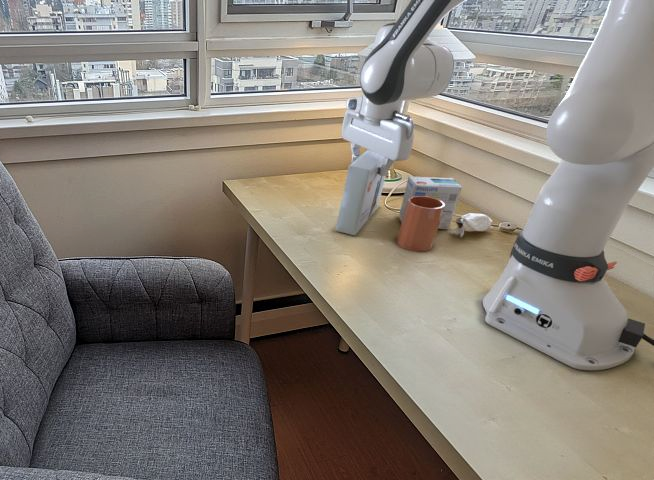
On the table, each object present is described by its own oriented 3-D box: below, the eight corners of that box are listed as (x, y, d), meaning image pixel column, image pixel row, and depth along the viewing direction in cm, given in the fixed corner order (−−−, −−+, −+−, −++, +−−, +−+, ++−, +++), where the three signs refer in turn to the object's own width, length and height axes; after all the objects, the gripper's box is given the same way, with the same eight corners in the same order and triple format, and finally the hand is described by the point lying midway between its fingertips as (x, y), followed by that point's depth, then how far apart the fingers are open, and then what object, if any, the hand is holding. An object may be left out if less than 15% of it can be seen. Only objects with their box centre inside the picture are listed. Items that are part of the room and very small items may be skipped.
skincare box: (357, 237, 110) (370, 169, 102) (334, 231, 113) (345, 165, 104) (380, 207, 125) (393, 146, 117) (359, 203, 128) (371, 142, 119)
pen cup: (439, 248, 106) (452, 205, 101) (413, 253, 104) (425, 210, 98) (415, 234, 112) (426, 193, 106) (389, 239, 109) (400, 198, 104)
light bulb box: (440, 218, 119) (453, 176, 113) (449, 230, 114) (464, 186, 108) (396, 216, 120) (407, 175, 114) (403, 228, 115) (415, 184, 109)
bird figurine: (470, 246, 110) (497, 227, 113) (469, 220, 106) (497, 201, 109) (450, 242, 114) (477, 223, 117) (449, 216, 110) (477, 198, 113)
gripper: (428, 116, 98) (410, 181, 105) (364, 96, 113) (353, 155, 121) (403, 118, 96) (387, 185, 103) (342, 98, 111) (332, 157, 119)
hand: (368, 168), depth 112 cm, fingers open, 8 cm apart
